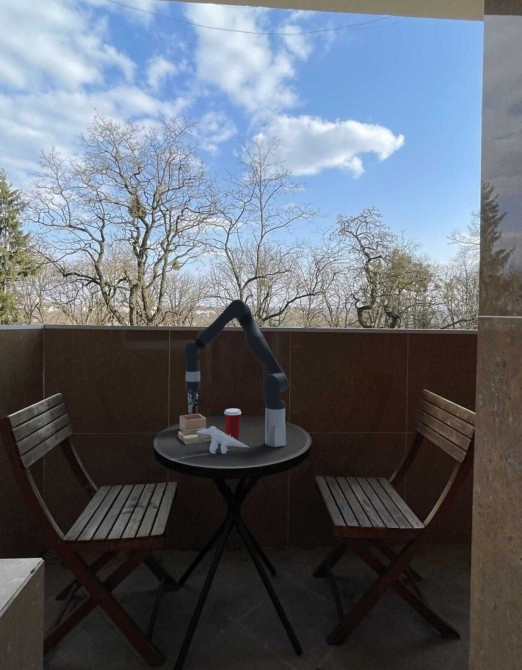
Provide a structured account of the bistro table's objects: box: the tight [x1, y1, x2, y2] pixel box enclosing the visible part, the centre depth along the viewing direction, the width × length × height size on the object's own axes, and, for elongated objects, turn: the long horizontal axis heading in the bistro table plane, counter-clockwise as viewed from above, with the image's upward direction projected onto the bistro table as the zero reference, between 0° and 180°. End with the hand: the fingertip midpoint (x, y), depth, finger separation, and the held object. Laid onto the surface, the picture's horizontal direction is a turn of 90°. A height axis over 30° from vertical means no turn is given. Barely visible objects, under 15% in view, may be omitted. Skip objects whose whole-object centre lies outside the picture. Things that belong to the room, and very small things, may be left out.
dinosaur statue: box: [197, 425, 249, 455], centre depth 157 cm, size 7×24×11 cm, turn 84°
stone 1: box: [187, 404, 192, 415], centre depth 187 cm, size 4×4×4 cm
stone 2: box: [198, 427, 207, 437], centre depth 174 cm, size 4×4×4 cm
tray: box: [177, 429, 212, 446], centre depth 173 cm, size 14×14×4 cm
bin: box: [179, 413, 207, 431], centre depth 187 cm, size 11×11×8 cm
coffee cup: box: [223, 408, 242, 441], centre depth 172 cm, size 8×8×15 cm
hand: (192, 412), depth 187 cm, fingers closed on stone 1, 4 cm apart
